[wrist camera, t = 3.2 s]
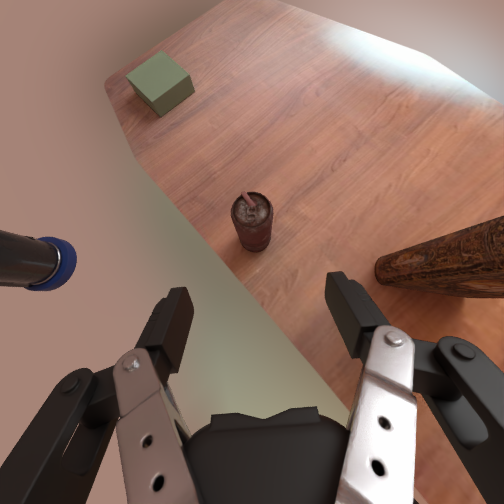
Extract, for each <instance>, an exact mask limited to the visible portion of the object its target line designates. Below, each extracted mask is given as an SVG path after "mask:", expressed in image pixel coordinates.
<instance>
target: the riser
mask: <svg viewBox="0 0 504 504" xmlns="http://www.w3.org/2000/svg"><path fill="white" fill-rule="evenodd" d="M126 78H127V79H128V81H129V83H130V84H131V86H132V87H133V89H134V91H135V92H136V93H137V94H138V95H139V96H140V97H141V98H142V99H143V100H144V101H145V102H146V103H147V104H148V105H149V106H150V107H151V108H152V109H153V110H154V111H155V112H156V113H157V114H158V115H159V116H160V117H162V116H163V115H164V114H166V113H167V112H168V111H170V110H171V109H172V108H174V107H175V106H176V105H178V104H179V103H180V102H182V101H183V100H184V99H186V98H187V97H188V96H190V95H191V94H192V93H194V92H195V90H194V87H193V84H192V81H191V78H190V75H189V74H188V73H187V72H186V71H185V70H184V69H183V68H181V67H180V66H179V65H178V64H177V63H176V62H175V61H174V60H172V59H171V58H170V57H169V56H168V55H167V54H166V53H164V52H163V51H162V50H161V51H160V52H158V53H157V54H156V55H154V56H153V57H151V58H150V59H148V60H147V61H146V62H144V63H143V64H141V65H140V66H139V67H137V68H136V69H134V70H133V71H132V72H130V73H129V74H127V75H126Z"/></svg>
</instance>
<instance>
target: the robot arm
mask: <svg viewBox="0 0 504 504" xmlns="http://www.w3.org/2000/svg"><path fill="white" fill-rule="evenodd" d="M61 264H62V253H61V250H60V248H59V247H58V246H57V245H55V244H53V243H51V242H46V241H41V240H37V239H33V237H28V236H21V235H18V234H14V233H10V232H6V231H2V230H0V286H8V287H32V286H33V285H39V284H43V283H46V282H48V281H49V280H51V279H52V278H53V277H54V276H55V275H56V274H57V273H58V271H59V269H60V267H61ZM325 300H326V303H327V306H328V308H329V310H330V312H331V314H332V316H333V319H334V321H335V323H336V325H337V327H338V330H339V332H340V334H341V336H342V338H343V340H344V343H345V345H346V347H347V349H348V351H349V354H350V356H351V358H352V359H354V358H360V359H361V361H362V363H363V366H362V369H361V373H360V377H359V381H358V385H357V389H356V393H355V397H354V401H353V404H352V408H351V411H350V415H349V418H348V422H347V425H346V428H345V427H344V426H342V425H340V424H339V423H338V422H336V421H334V420H332V419H331V418H328V417H326V416H323V415H319V414H318V409H317V406H315V407H303V408H291V409H288V410H286V411H283V412H281V413H279V414H276V415H274V416H272V417H269V418H266V419H260V418H256V417H252V416H248V415H244V414H240V413H228V414H215V415H211V423H210V424H208V425H206V426H204V427H203V428H201V429H200V430H198V431H197V432H196V433H194V434H193V435H191V433H190V431H189V429H188V427H187V425H186V423H185V421H184V420H183V417H182V415H181V413H180V410H179V408H178V405H177V403H176V401H175V398H174V396H173V393H172V391H171V388H170V386H169V384H168V382H167V381H168V378H169V375H170V374H172V373H178V371H179V367H180V363H181V360H182V356H183V353H184V349H185V345H186V342H187V338H188V334H189V331H190V327H191V323H192V319H193V315H194V307H193V303H192V301H191V298H190V296H189V293H188V290H187V288H186V287H177V288H171V290H170V292H169V294H168V296H167V298H162V299H161V300H160V301H159V302H158V304H156V306H155V308H154V310H153V312H152V315H151V316H150V318H149V320H148V322H147V324H146V326H145V328H144V330H143V332H142V334H141V336H140V338H139V340H138V342H137V344H136V346H135V348H134V349H132V350H130V351H128V352H127V353H125V354H124V355H123V356H122V357H121V358H120V359H119V360H118V361H117V363H116V364H115V365H114V366H111V367H109V368H106V369H104V370H101V371H98V372H96V373H93V372H92V371H91V370H90V369H88V368H81V369H78V370H75V371H73V372H71V373H70V374H68V375H67V376H65V377H64V378H63V379H62V380H61V381H60V382H59V383H58V384H57V385H56V386H55V388H54V389H53V391H52V392H51V394H50V395H49V397H48V398H47V400H46V401H45V402H44V404H43V405H42V407H41V408H40V410H39V411H38V413H37V414H36V416H35V417H34V419H33V420H32V422H31V423H30V425H29V426H28V428H27V429H26V430H25V432H24V433H23V435H22V436H21V438H20V439H19V441H18V442H17V444H16V445H15V447H14V448H13V450H12V452H11V453H10V454H9V456H8V457H7V458H6V460H5V461H4V463H3V464H2V466H1V468H0V504H86V501H87V498H88V496H89V493H90V491H91V488H92V486H93V483H94V480H95V478H96V475H97V472H98V470H99V467H100V465H101V462H102V459H103V457H104V455H105V452H106V449H107V447H108V444H109V442H110V439H111V436H112V434H113V431H114V429H115V426H116V433H117V439H118V446H119V452H120V458H121V464H122V471H123V477H124V483H125V489H126V495H127V502H128V504H419V503H418V502H417V501H416V500H415V499H414V498H413V489H414V465H415V441H416V418H417V400H416V397H415V396H413V394H412V391H413V392H417V393H420V394H421V395H422V396H423V398H424V400H425V401H426V403H427V405H428V406H429V408H430V410H431V411H432V413H433V415H434V416H435V418H436V420H437V421H438V423H439V425H440V426H441V428H442V430H443V431H444V433H445V435H446V436H447V438H448V440H449V441H450V443H451V445H452V446H453V448H454V450H455V451H456V453H457V455H458V456H459V458H460V460H461V461H462V463H463V465H464V466H465V468H466V470H467V471H468V473H469V475H470V476H471V478H472V480H473V481H474V483H475V485H476V486H477V488H478V490H479V491H480V493H481V495H482V496H483V498H484V500H485V501H486V503H487V504H504V373H503V372H502V371H501V370H500V369H499V368H498V367H497V366H496V365H495V364H494V363H493V362H492V361H491V360H490V359H489V358H488V357H487V356H486V355H485V354H484V352H482V351H481V350H480V349H479V348H478V347H476V346H475V345H473V344H472V343H470V342H468V341H466V340H464V339H461V338H458V337H453V336H446V337H442V338H441V339H440V340H439V341H438V343H433V342H427V341H422V340H417V339H412V338H410V336H409V335H408V334H406V333H405V332H404V331H402V330H400V329H399V328H396V327H393V326H391V324H390V323H389V322H388V320H387V319H386V318H385V316H384V315H383V314H382V312H381V311H380V309H379V308H378V307H377V305H376V304H375V303H374V301H372V299H371V297H370V296H369V294H367V292H366V290H365V289H364V288H363V286H362V285H361V284H359V283H358V282H356V281H355V280H348V278H347V277H346V275H345V274H344V273H343V272H342V271H339V272H329V273H327V277H326V286H325ZM119 417H120V419H119V420H118V418H119ZM78 423H79V426H78V427H77V425H78ZM76 427H77V429H76ZM75 429H76V431H75ZM74 431H75V433H74ZM73 433H74V435H73ZM72 435H73V437H72ZM71 437H72V439H71ZM70 439H71V441H70ZM69 441H70V443H69ZM68 443H69V445H68ZM67 445H68V447H67ZM66 447H67V449H66ZM65 449H66V451H65ZM64 451H65V452H64ZM63 453H64V454H63Z"/></svg>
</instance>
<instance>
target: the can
mask: <svg viewBox="0 0 504 504" xmlns="http://www.w3.org/2000/svg"><path fill="white" fill-rule="evenodd" d="M231 218H232V221H233V224H234V226H235V229H236V231H237V234H238V236H239V238H240V241H241V243H242V245H243V246H244V248H245V249H247V250H248V251H252V252H259V251H262V250H263V249H265V248H266V247H267V246H268V244H269V242H270V238H271V230H272V222H273V207H272V204H271V202H270V201H269V200H268V199H267V198H266V197H265V196H264V195H262V194H261V193H257V192H247V193H246V192H242V193H241V195H240V196H239V197H238V198H237V199H236V200H235V202H234V203H233V205H232V208H231Z"/></svg>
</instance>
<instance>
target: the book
mask: <svg viewBox="0 0 504 504" xmlns="http://www.w3.org/2000/svg"><path fill="white" fill-rule="evenodd" d="M375 276H376V279H377V281H378V282H379V283H380V284H381V285H388V286H394V287H400V288H407V289H413V290H419V291H426V292H432V293H438V294H445V295H451V296H458V297H465V298H504V216H501V217H498V218H495V219H492V220H489V221H486V222H483V223H480V224H477V225H474V226H471V227H468V228H465V229H462V230H459V231H457V232H454V233H451V234H448V235H445V236H442V237H439V238H436V239H433V240H430V241H427V242H424V243H421V244H418V245H415V246H412V247H409V248H406V249H403V250H400V251H397V252H394V253H391V254H388V255H385V256H382V257H380V258H379V259H378V260H377V262H376V264H375Z"/></svg>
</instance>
